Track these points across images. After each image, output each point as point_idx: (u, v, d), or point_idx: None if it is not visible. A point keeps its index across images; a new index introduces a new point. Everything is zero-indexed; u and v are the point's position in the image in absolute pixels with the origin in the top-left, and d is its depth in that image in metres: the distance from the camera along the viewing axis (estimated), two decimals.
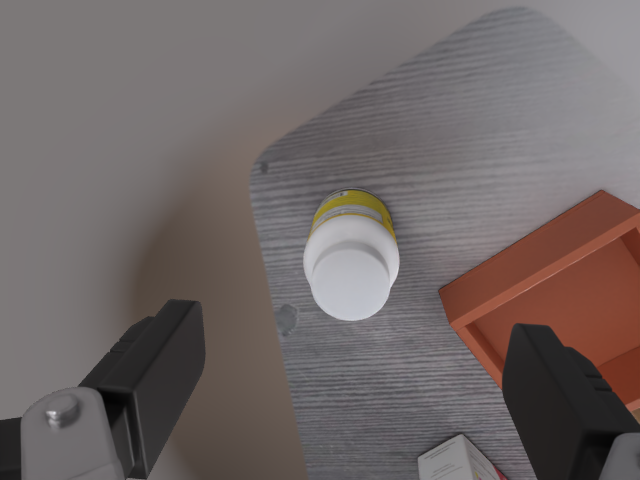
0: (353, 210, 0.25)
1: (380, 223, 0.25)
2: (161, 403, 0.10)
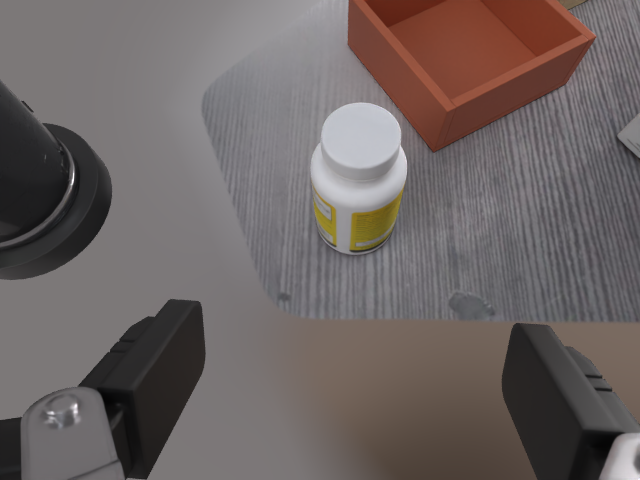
0: None
1: None
2: (161, 403, 0.10)
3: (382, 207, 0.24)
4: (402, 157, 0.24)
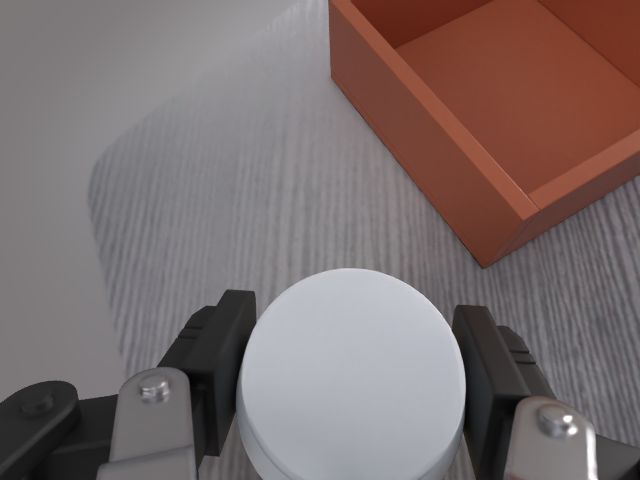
0: None
1: None
2: (229, 385, 0.10)
3: None
4: None
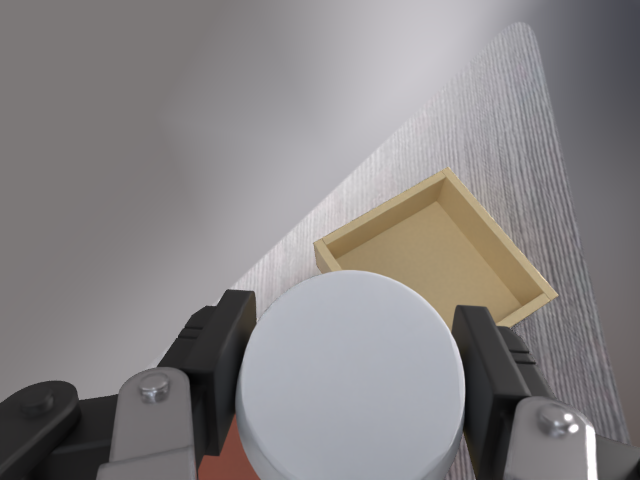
0: None
1: None
2: (229, 386, 0.10)
3: None
4: None
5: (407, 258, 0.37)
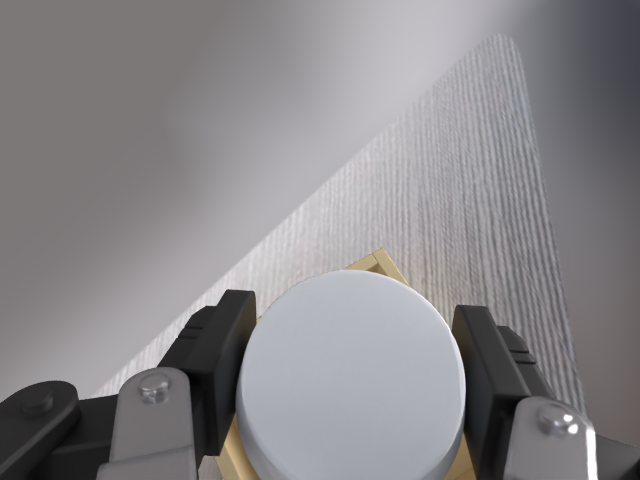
0: None
1: None
2: (229, 385, 0.10)
3: None
4: None
5: None
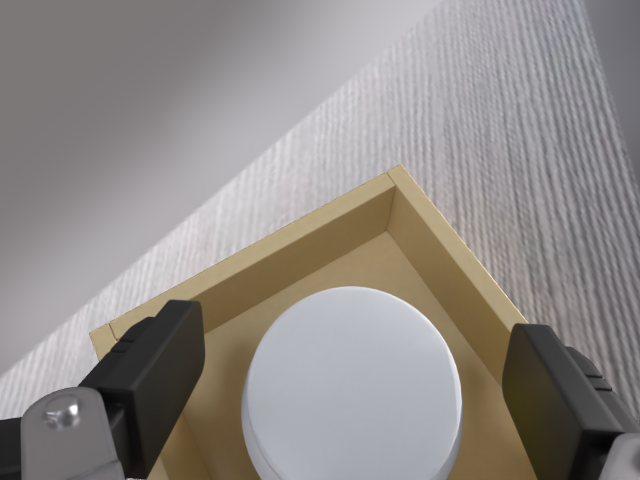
0: None
1: None
2: (161, 403, 0.10)
3: None
4: None
5: None
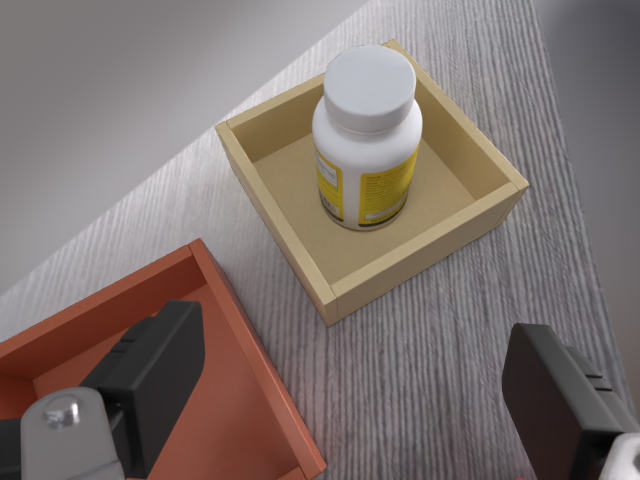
0: None
1: None
2: (161, 403, 0.10)
3: (396, 167, 0.21)
4: (416, 109, 0.21)
5: None
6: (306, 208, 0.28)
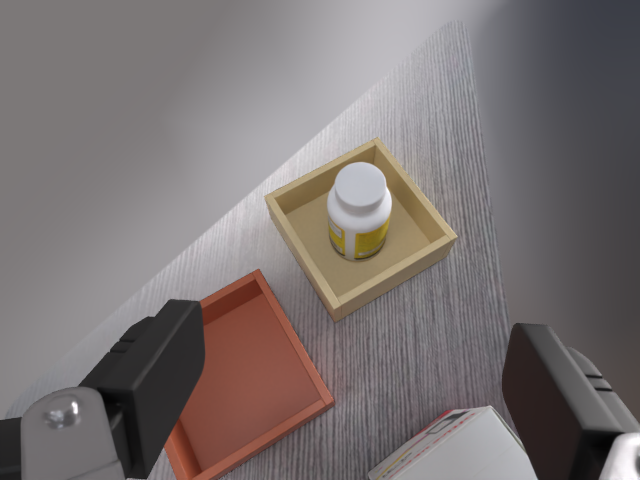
0: None
1: None
2: (161, 403, 0.10)
3: (376, 229, 0.37)
4: (388, 196, 0.37)
5: None
6: (320, 246, 0.43)
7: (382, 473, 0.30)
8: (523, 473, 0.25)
